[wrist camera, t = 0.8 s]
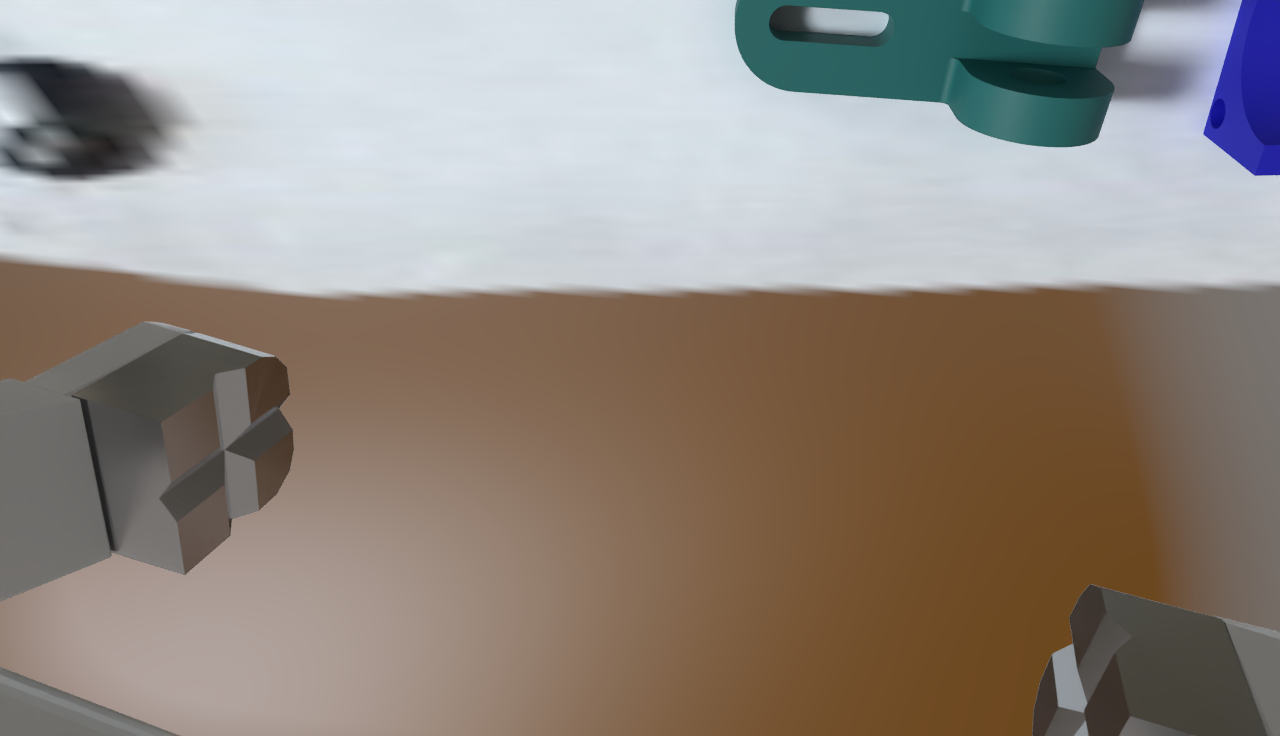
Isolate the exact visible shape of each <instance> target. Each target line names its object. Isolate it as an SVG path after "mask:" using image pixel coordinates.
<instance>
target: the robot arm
mask: <svg viewBox="0 0 1280 736" xmlns="http://www.w3.org/2000/svg"><path fill="white" fill-rule="evenodd" d="M289 395H290V390H289V381H288V373H287V367H286V366H285V365H284V364H283V363H282V362H281V361H280V360H279V359H278V358H277V357H276V356H273V355H269V354H266V353H263V352H260V351H256V350H253V349H250V348H246V347H243V346H239V345H236V344H233V343H230V342H226V341H223V340H220V339H216V338H213V337H210V336H206V335H203V334H200V333H194V332H192V331H190V330H186V329H183V328H179V327H175V326H172V325H168V324H164V323H161V322H142V323H140V324H138V325H136V326H134V327H132V328H130V329H128V330H126V331H124V332H122V333H120V334H118V335H117V336H114V337H112V338H110V339H108V340H106V341H104V342H103V343H100V344H99V345H96V346H94V347H92V348H90V349H89V350H87V351H85V352H83V353H81V354H79V355H77V356H75V357H73V358H71V359H69V360H67V361H65V362H63V363H61V364H59V365H57V366H55V367H53V368H51V369H49V370H47V371H45V372H43V373H41V374H39V375H37V376H35V377H33V378H32V379H29V380H27V381H25V382H21V381H18V380H14V379H6V380H0V601H3V600H5V599H8V598H10V597H13V596H15V595H18V594H20V593H23V592H25V591H28V590H30V589H33V588H35V587H38V586H40V585H42V584H45V583H48V582H50V581H53V580H55V579H57V578H60V577H62V576H65V575H67V574H70V573H72V572H75V571H77V570H80V569H82V568H85V567H87V566H90V565H92V564H95V563H97V562H100V561H102V560H104V559H107V558H110V557H111V552H112V553H115V554H118V555H122V556H125V557H128V558H131V559H134V560H138V561H141V562H144V563H148V564H151V565H154V566H157V567H161V568H164V569H167V570H171V571H174V572H177V573H180V574H183V575H185V574H186V573H188V572H189V571H190V570H191V569H192V568H193V567H194V566H196V565H197V564H198V563H199V562H200V561H202V560H203V559H204V558H205V557H206V556H207V555H208V554H210V553H211V552H212V551H213V550H214V549H215V548H216V547H218V546H219V545H220V544H221V543H222V542H223V541H225V540H226V539H227V538H228V537H229V536H230V534H231V523H232V519H233V518H237V517H240V516H243V515H246V514H249V513H253V512H256V511H259V510H260V509H261V508H262V507H263V506H264V505H266V504H267V503H268V502H269V501H270V500H271V499H272V498H273V497H274V496H275V495H276V494H277V493H278V491H279V489H280V487H281V486H282V483H283V482H284V480H285V478H286V476H287V475H288V473H289V471H290V466H291V461H292V456H293V451H294V446H293V445H294V444H293V430H292V428H291V427H290V425H289V424H288V422H287V420H286V419H285V417H284V416H283V414H282V413H281V411H280V410H279V408H280V406H281V405H282V404H283V403H284V401H285V400H286V399H287V398H288V397H289ZM1069 620H1070V626H1071V633H1072V639H1073V644H1072V645H1070V646H1068V647H1065V648H1063V649H1061V650H1059V651H1057V652H1055V653H1053V654H1052V655H1051V657H1050V660H1049V662H1048V664H1047V667H1046V669H1045V671H1044V674H1043V676H1042V678H1041V681H1040V685H1039V689H1038V693H1037V698H1036V702H1035V706H1034V711H1033V732H1032V735H1033V736H1280V633H1279V632H1278V631H1274V630H1270V629H1266V628H1262V627H1258V626H1254V625H1250V624H1246V623H1242V622H1238V621H1234V620H1230V619H1226V618H1221V617H1217V616H1208V615H1205V614H1201V613H1197V612H1193V611H1190V610H1186V609H1182V608H1178V607H1174V606H1171V605H1167V604H1163V603H1159V602H1155V601H1151V600H1148V599H1144V598H1140V597H1137V596H1133V595H1129V594H1125V593H1121V592H1117V591H1114V590H1110V589H1106V588H1102V587H1099V586H1095V585H1091V584H1090V585H1089V586H1088V587H1087V589H1086V590H1085V591H1084V592H1083V593H1082V594H1081V595H1080V597H1079V599H1078V601H1077V603H1076V605H1075V607H1074V609H1073V611H1072V613H1071V615H1070V617H1069ZM0 736H180V735H177V734H174V733H172V732H169V731H166V730H164V729H161V728H159V727H156V726H153V725H151V724H148V723H146V722H143V721H140V720H138V719H135V718H132V717H130V716H127V715H125V714H122V713H119V712H117V711H114V710H112V709H109V708H106V707H104V706H101V705H98V704H96V703H93V702H91V701H88V700H85V699H83V698H80V697H77V696H75V695H72V694H69V693H67V692H64V691H61V690H59V689H57V688H54V687H51V686H48V685H46V684H43V683H41V682H38V681H35V680H33V679H30V678H28V677H25V676H22V675H20V674H17V673H15V672H12V671H9V670H7V669H4V668H1V667H0Z"/></svg>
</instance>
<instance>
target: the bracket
mask: <svg viewBox="0 0 1280 736" xmlns="http://www.w3.org/2000/svg"><path fill="white" fill-rule="evenodd" d="M1143 3H1144V0H737V2H736V8H735V35H736V41H737V46H738V49H739V52H740V54H741V56H742V58H743V60H744V62H745V63H746V65H747V66H748V67H749V69H750V70H751V71H752V72H753V73H754V74H755V75H756V76H757V77H758V78H759V79H761V80H762V81H764V82H765V83H767V84H769V85H771V86H773V87H775V88H778V89H782V90H786V91H793V92H806V93H819V94H833V95H847V96H860V97H874V98H888V99H901V100H915V101H929V102H941V103H945V104H948V105H949V107H950V108H951V110H952V112H953V113H954V115H955V116H956V118H957V119H958V120H959V121H960V122H961V123H962V124H964V125H965V126H967V127H969V128H971V129H973V130H975V131H977V132H980V133H982V134H985V135H988V136H991V137H994V138H998V139H1002V140H1006V141H1010V142H1015V143H1020V144H1026V145H1034V146H1044V147H1074V146H1081V145H1085V144H1089V143H1091V142H1093V141H1095V140H1096V139H1097V138H1098V136H1099V133H1100V130H1101V127H1102V124H1103V121H1104V118H1105V115H1106V112H1107V109H1108V106H1109V103H1110V100H1111V97H1112V94H1113V92H1114V85H1113V83H1112V82H1111V81H1109V80H1108V79H1107V78H1106V77H1105V76H1104V75H1103V74H1101V73H1100V72H1099V71H1098V70H1097V69H1096V68H1095V67H1096V64H1097V61H1098V58H1099V54H1100V51H1101V48H1102V47H1113V46H1119V45H1123V44H1126V43H1128V42H1130V41H1131V38H1132V35H1133V32H1134V29H1135V26H1136V23H1137V20H1138V18H1139V15H1140V12H1141V9H1142V6H1143ZM785 5H790V6H804V7H819V8H833V9H848V10H862V11H877V12H884V13H887V14H888V15H889V21H888V24H887V26H886V28H885V29H884V31H883V32H881V33H880V34H878V35H876V36H872V37H867V36H853V35H839V34H824V33H810V32H796V31H782V30H778V29H775V28H774V27H773V26H772V25H771V24H770V22H769V20H770V17H771V15H772V13H773V12H774V11H775V10H776V9H777V8H779V7H781V6H785Z"/></svg>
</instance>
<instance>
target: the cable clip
mask: <svg viewBox="0 0 1280 736" xmlns="http://www.w3.org/2000/svg"><path fill="white" fill-rule="evenodd" d="M1203 134H1204V135H1205V136H1206V137H1208V138H1209V139H1210V140H1211V141H1212V142H1214V143H1215V144H1216V145H1217V146H1219V147H1220V148H1221V149H1222V150H1224V151H1225V152H1226V153H1227V154H1229V155H1230V156H1231V157H1232V158H1234V159H1235V160H1236V161H1237V162H1239V163H1240V164H1241V165H1242V166H1243V167H1245V168H1246V169H1247V170H1248V171H1250V172H1251V173H1252V174H1253V175H1255V176H1256V175H1280V0H1242V3H1241V6H1240V10H1239V13H1238V17H1237V20H1236V23H1235V27H1234V30H1233V34H1232V37H1231V41H1230V44H1229V47H1228V51H1227V54H1226V58H1225V61H1224V65H1223V68H1222V71H1221V75H1220V78H1219V82H1218V85H1217V89H1216V92H1215V95H1214V99H1213V102H1212V106H1211V109H1210V113H1209V116H1208V119H1207V123H1206V126H1205V130H1204V133H1203Z"/></svg>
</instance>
